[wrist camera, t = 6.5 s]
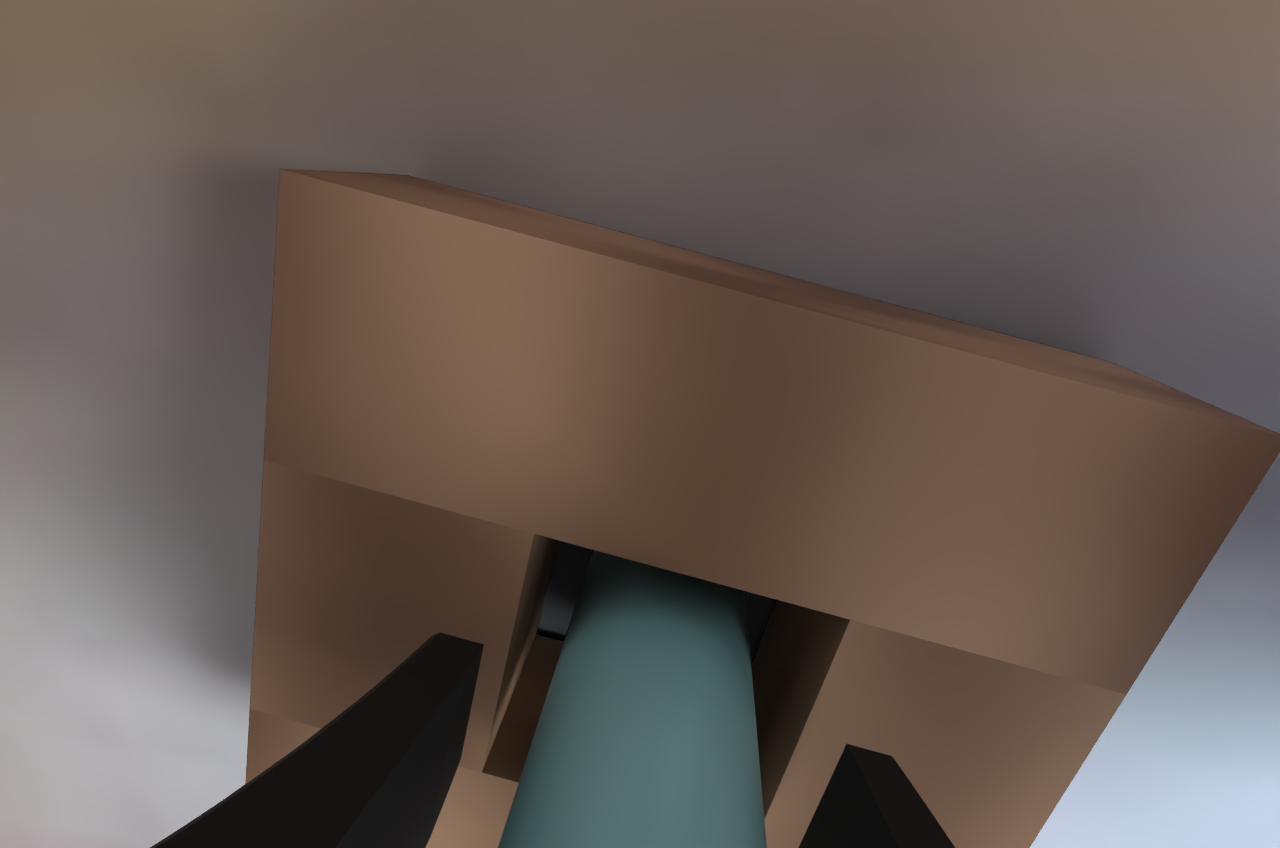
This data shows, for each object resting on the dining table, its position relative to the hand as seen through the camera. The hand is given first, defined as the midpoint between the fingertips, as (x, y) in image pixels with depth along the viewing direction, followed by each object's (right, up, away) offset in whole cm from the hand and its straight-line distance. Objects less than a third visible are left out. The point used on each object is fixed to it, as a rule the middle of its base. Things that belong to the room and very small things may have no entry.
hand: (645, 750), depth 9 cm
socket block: (0, +1, +4) cm, 4 cm away
